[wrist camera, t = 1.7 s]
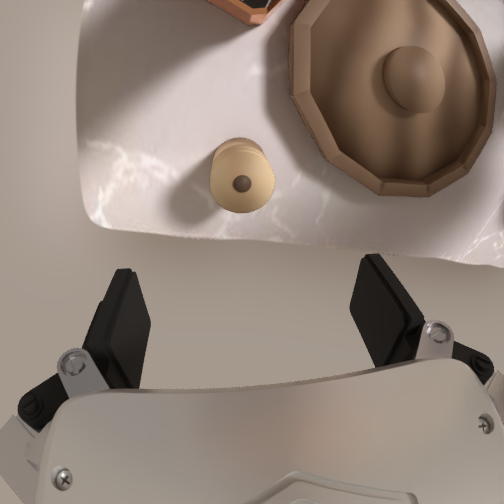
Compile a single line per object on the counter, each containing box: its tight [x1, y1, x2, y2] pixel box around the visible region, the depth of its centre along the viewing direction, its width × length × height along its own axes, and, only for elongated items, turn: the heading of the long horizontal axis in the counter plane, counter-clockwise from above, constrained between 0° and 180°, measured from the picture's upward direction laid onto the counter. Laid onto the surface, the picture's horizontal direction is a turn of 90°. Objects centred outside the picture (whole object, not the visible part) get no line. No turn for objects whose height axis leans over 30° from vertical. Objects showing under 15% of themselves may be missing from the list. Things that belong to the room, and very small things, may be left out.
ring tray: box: [288, 0, 496, 197], centre depth 22 cm, size 25×25×2 cm
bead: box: [209, 138, 275, 213], centre depth 24 cm, size 5×5×6 cm
